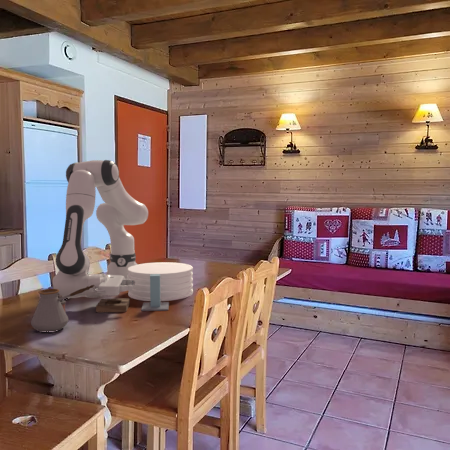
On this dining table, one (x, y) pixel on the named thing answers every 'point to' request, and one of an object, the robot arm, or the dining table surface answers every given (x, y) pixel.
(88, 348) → the dining table surface
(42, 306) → the coffee pot
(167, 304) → the coaster
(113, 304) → the holder
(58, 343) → the dining table surface
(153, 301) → the peg
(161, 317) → the dining table surface
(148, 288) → the plate stack
